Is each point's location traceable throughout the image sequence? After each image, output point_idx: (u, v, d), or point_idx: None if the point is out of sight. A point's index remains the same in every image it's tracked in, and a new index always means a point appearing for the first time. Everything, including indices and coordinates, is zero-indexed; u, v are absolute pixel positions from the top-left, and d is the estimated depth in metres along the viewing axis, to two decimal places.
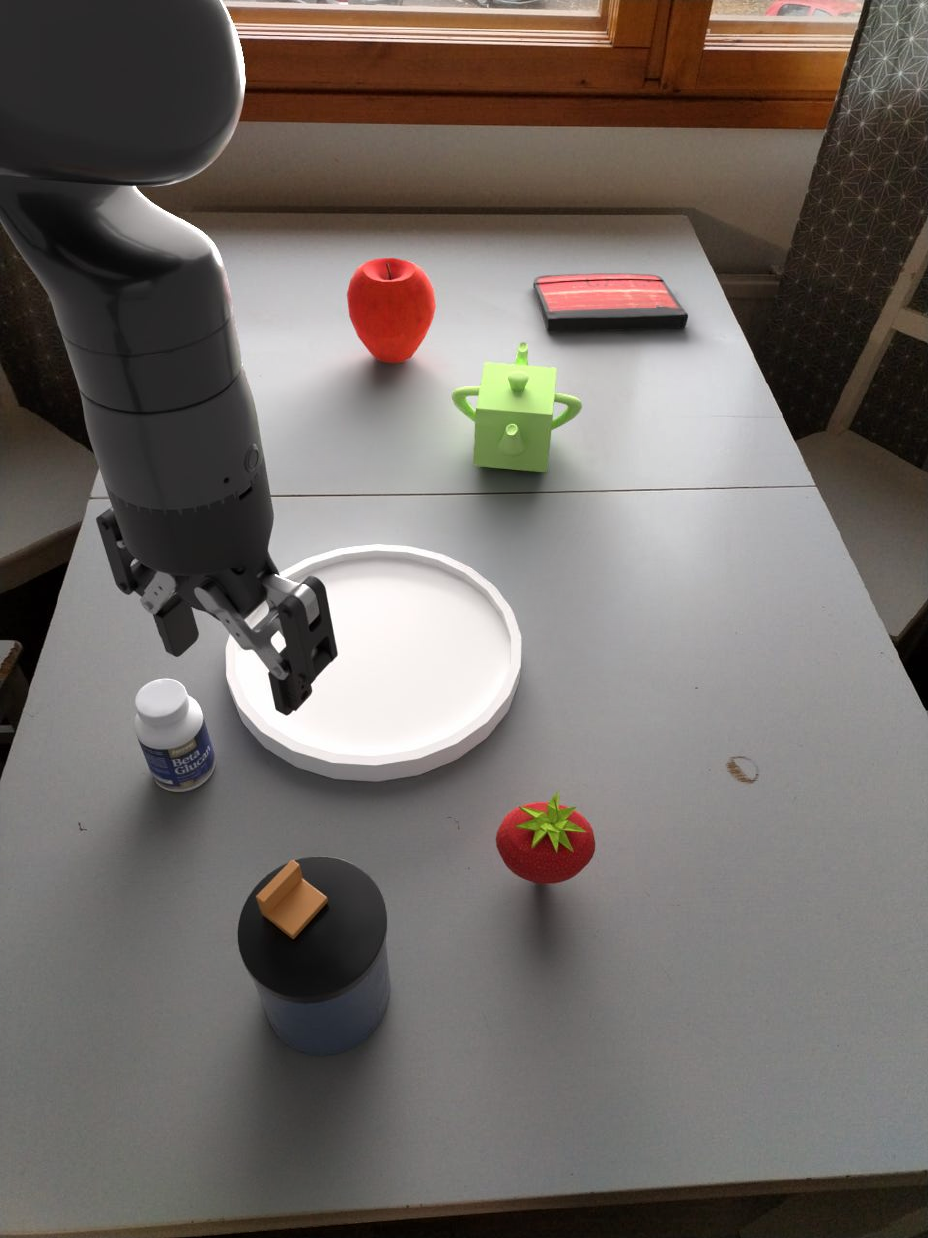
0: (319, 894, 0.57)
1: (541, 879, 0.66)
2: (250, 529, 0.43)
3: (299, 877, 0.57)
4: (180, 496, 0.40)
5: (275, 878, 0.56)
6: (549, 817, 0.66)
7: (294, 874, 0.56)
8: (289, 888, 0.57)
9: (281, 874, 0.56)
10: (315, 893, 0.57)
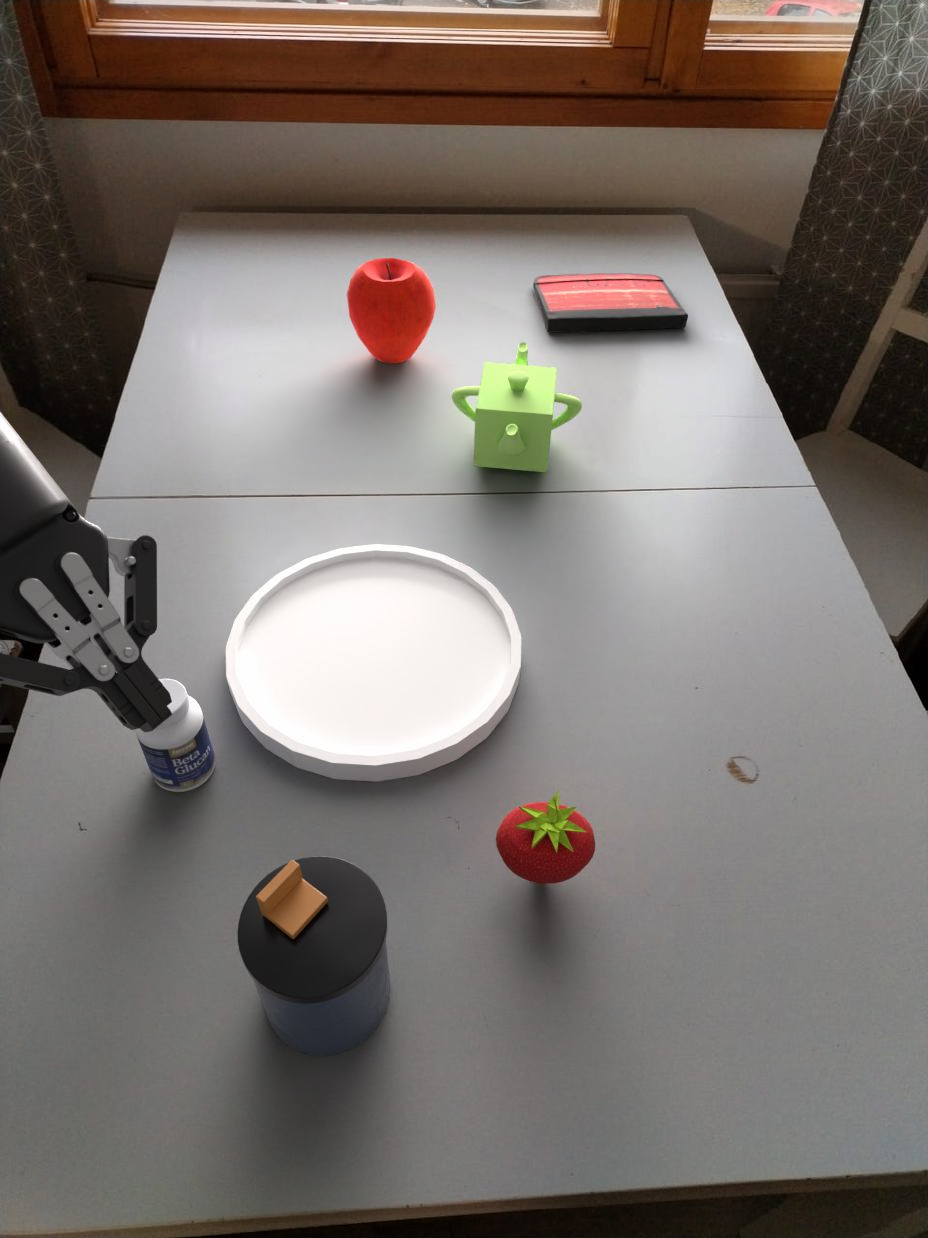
0: (319, 894, 0.57)
1: (541, 879, 0.66)
2: None
3: (299, 877, 0.57)
4: (2, 428, 0.47)
5: (275, 878, 0.56)
6: (549, 817, 0.66)
7: (294, 874, 0.56)
8: (289, 888, 0.57)
9: (281, 874, 0.56)
10: (315, 893, 0.57)
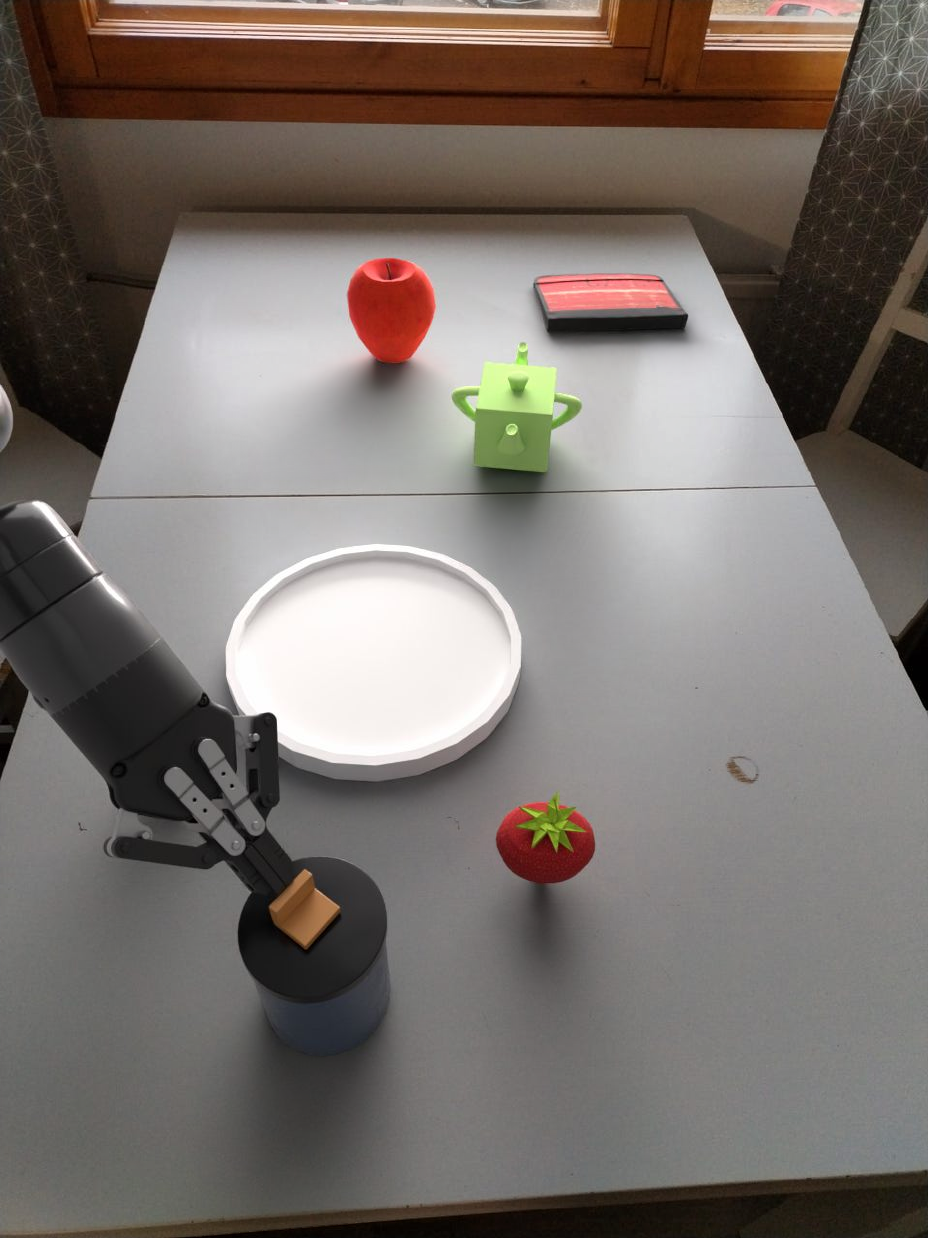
0: (332, 904, 0.57)
1: (541, 879, 0.66)
2: None
3: (311, 887, 0.57)
4: (147, 631, 0.51)
5: (288, 888, 0.55)
6: (549, 817, 0.66)
7: (307, 884, 0.56)
8: (301, 898, 0.56)
9: (294, 884, 0.56)
10: (328, 903, 0.57)
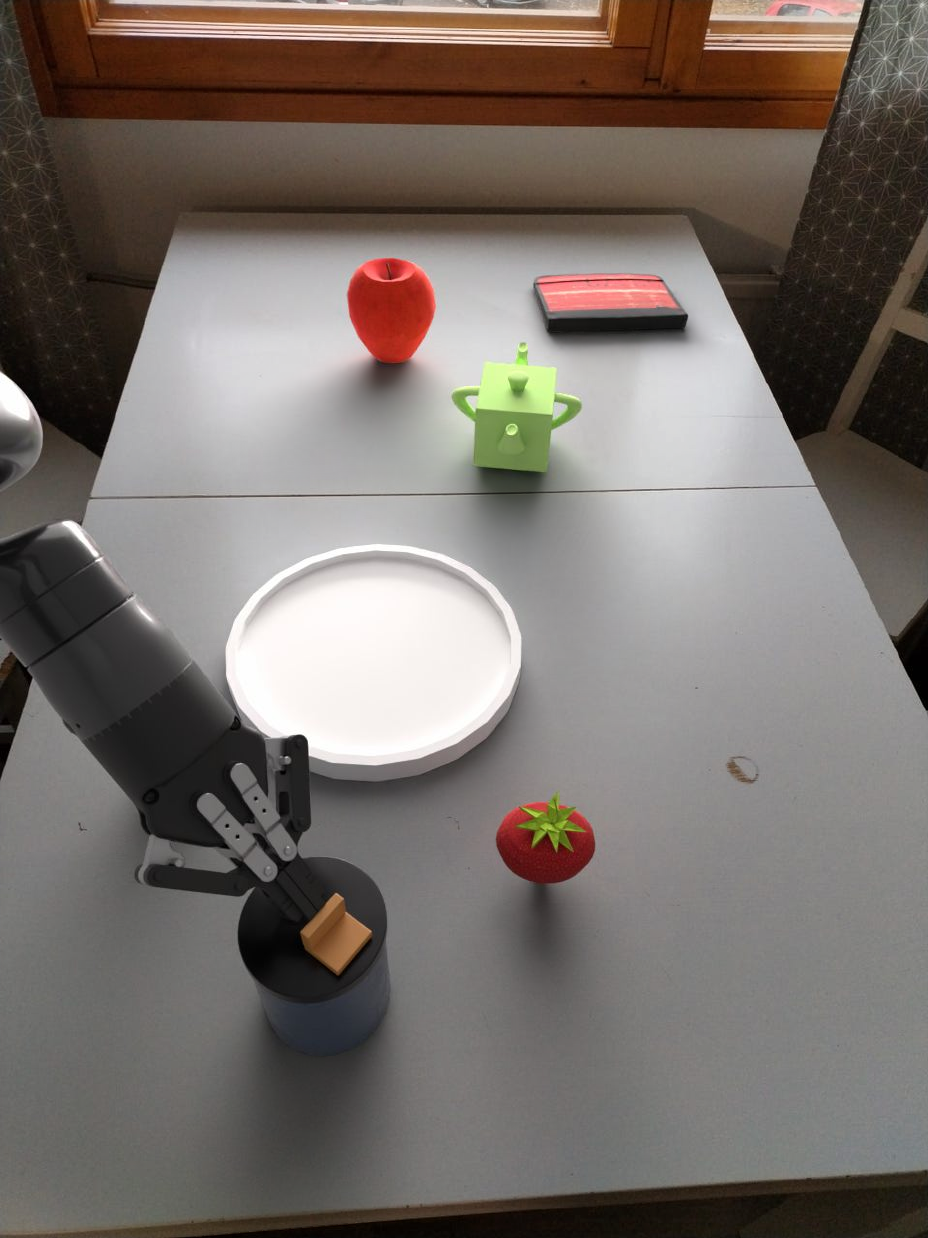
0: (363, 928, 0.56)
1: (541, 879, 0.66)
2: None
3: (343, 911, 0.56)
4: (180, 655, 0.50)
5: (319, 912, 0.54)
6: (549, 817, 0.66)
7: (338, 908, 0.55)
8: (332, 922, 0.55)
9: (325, 908, 0.54)
10: (359, 927, 0.56)
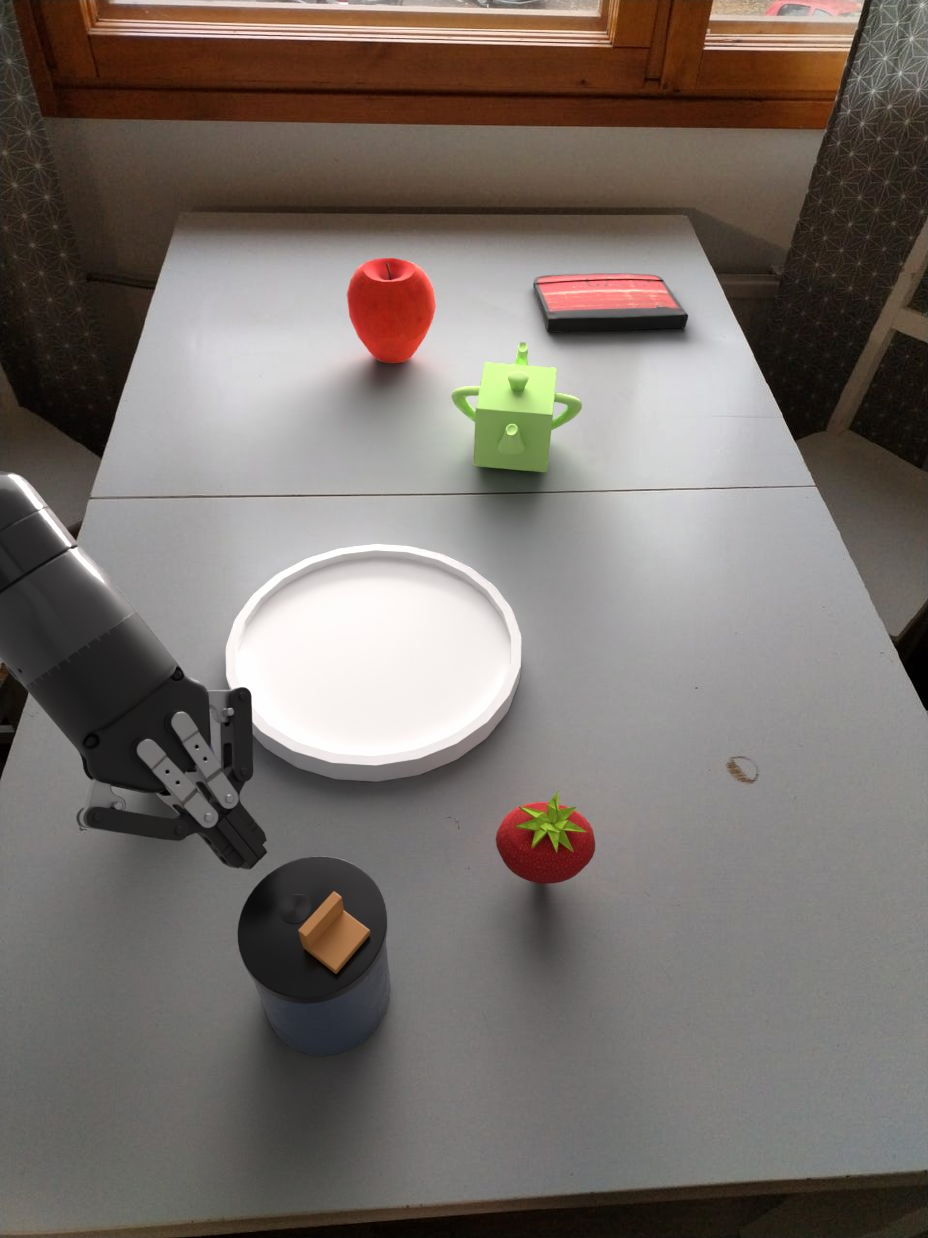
0: (361, 927, 0.56)
1: (541, 879, 0.66)
2: None
3: (341, 909, 0.56)
4: (121, 604, 0.52)
5: (317, 911, 0.54)
6: (549, 817, 0.66)
7: (336, 906, 0.55)
8: (331, 921, 0.55)
9: (323, 907, 0.55)
10: (357, 926, 0.56)
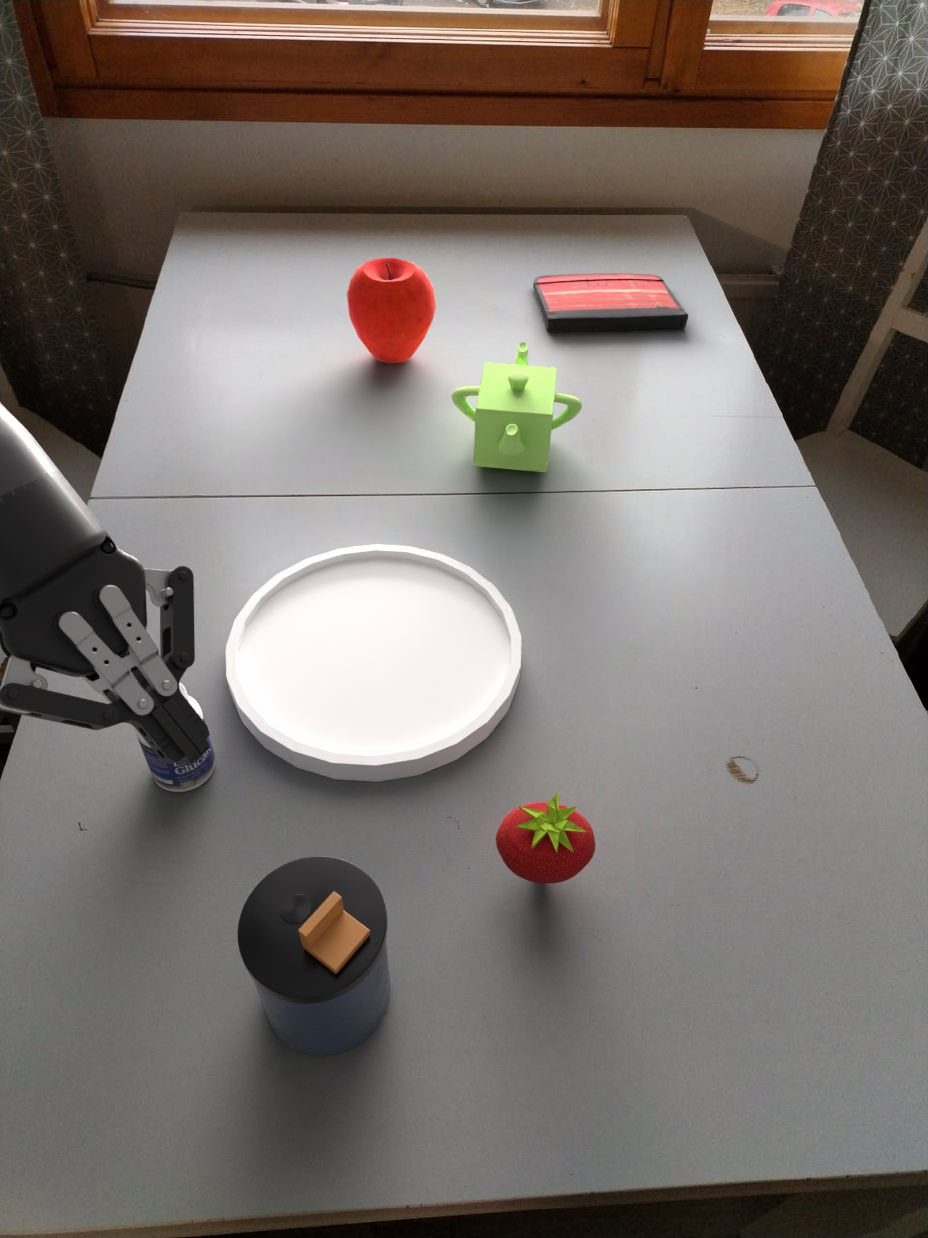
0: (361, 927, 0.56)
1: (541, 879, 0.66)
2: None
3: (341, 909, 0.56)
4: (41, 460, 0.46)
5: (317, 911, 0.54)
6: (549, 817, 0.66)
7: (336, 906, 0.55)
8: (331, 921, 0.55)
9: (323, 907, 0.55)
10: (357, 926, 0.56)
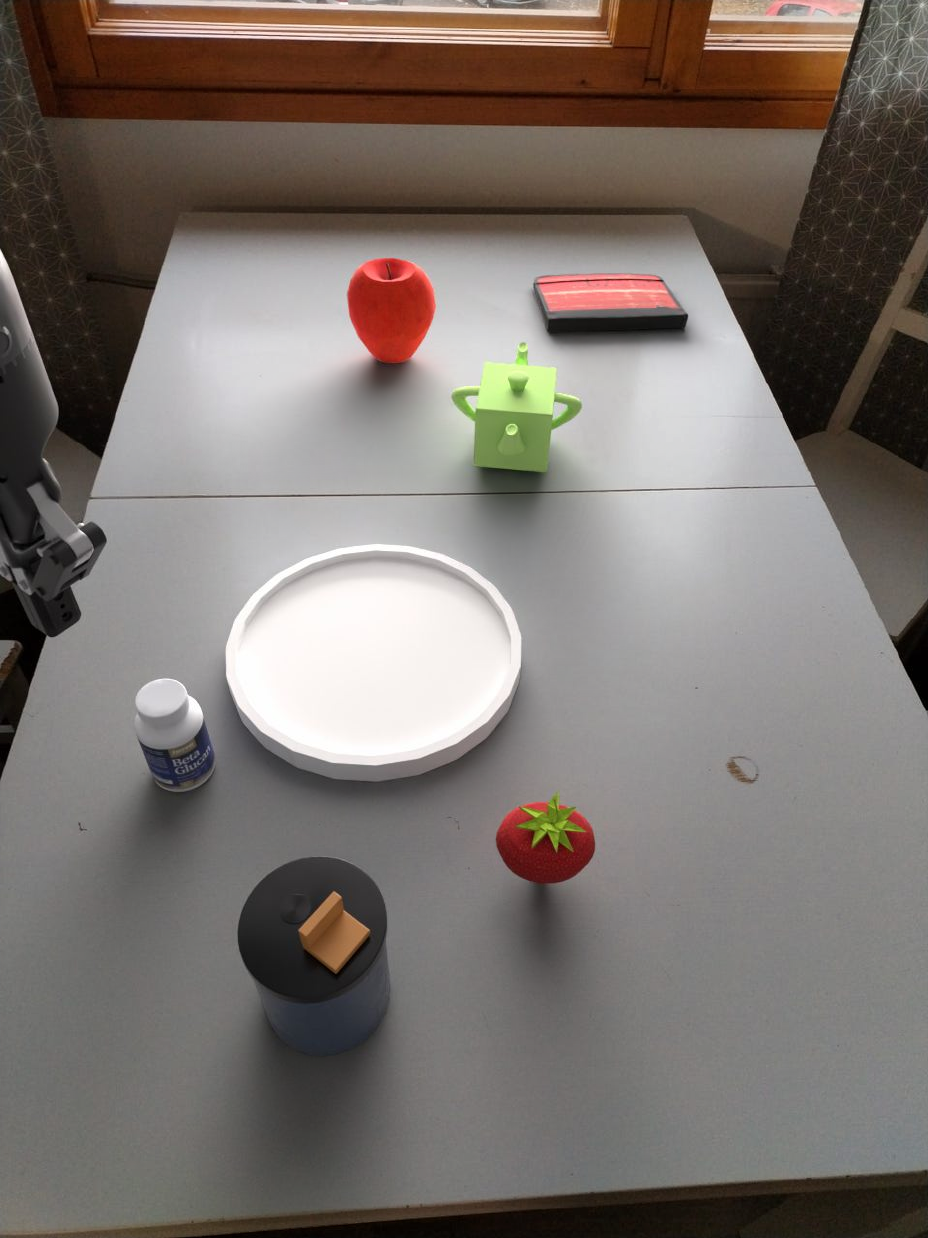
0: (361, 927, 0.56)
1: (541, 879, 0.66)
2: (7, 428, 0.38)
3: (341, 909, 0.56)
4: None
5: (317, 911, 0.54)
6: (549, 817, 0.66)
7: (336, 906, 0.55)
8: (331, 921, 0.55)
9: (323, 907, 0.55)
10: (357, 926, 0.56)
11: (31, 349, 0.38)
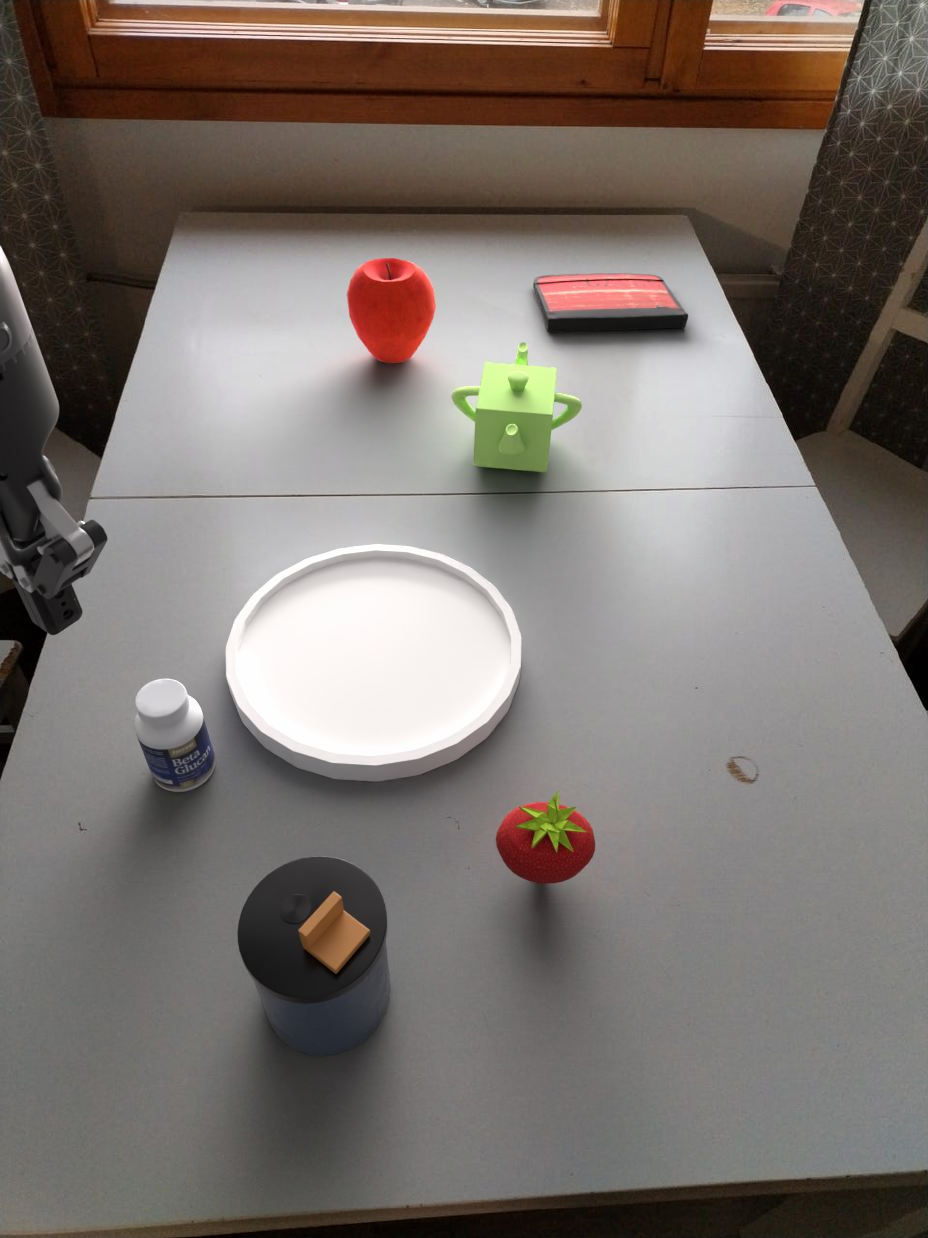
0: (361, 927, 0.56)
1: (541, 879, 0.66)
2: (7, 425, 0.37)
3: (341, 909, 0.56)
4: None
5: (317, 911, 0.54)
6: (549, 817, 0.66)
7: (336, 906, 0.55)
8: (331, 921, 0.55)
9: (323, 907, 0.55)
10: (357, 926, 0.56)
11: (31, 346, 0.38)
